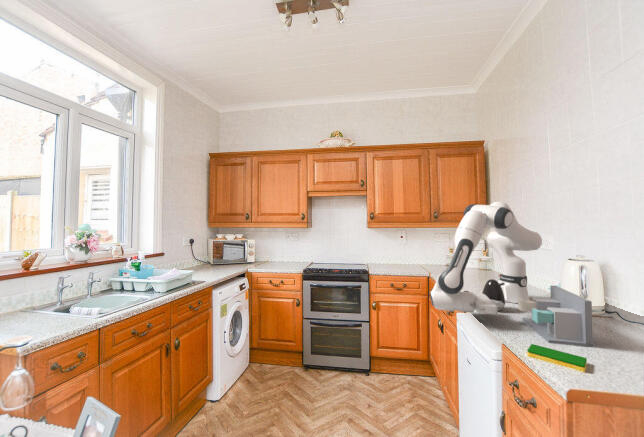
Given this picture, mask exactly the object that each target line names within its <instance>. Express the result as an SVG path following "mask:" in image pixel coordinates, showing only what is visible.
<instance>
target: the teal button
mask: <svg viewBox="0 0 644 437" xmlns="http://www.w3.org/2000/svg"><path fill="white" fill-rule="evenodd" d="M531 318H532V320H534V321H535V322H536V323H538V324H541V322H544V323H554V313H553V312H552V311H543V310H537V309H535V308H532V311H531Z"/></svg>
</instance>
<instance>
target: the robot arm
mask: <svg viewBox="0 0 644 437" xmlns="http://www.w3.org/2000/svg"><path fill="white" fill-rule="evenodd" d="M485 228H491V229H492V228H493V229H494V230H493V231H490V232H489V233H488V235H487V237H486V242H487V244H488V246H489V247H490V248H492V249H493V250H494V252H496V253H497V255H498V257H499V259H500V262H501V264H500V265H501V273H500V274H499V273H498V275H497V277H499V279H498V280H496V281H497V282H498V283H505V285H501V288H502V290H503V293H504V297H505V303H512V304H518V299H522V300H529V301H531V299H530V295H529V291H528V276H527V267H526V266H527V264H526V261H525V260H524V259H523V258H521V257H519V256H517V255H516V254H515V253H514V251H521V252H529V251H531V252H532V251H538V250H539V249H540V248H541V246H542V245H543V239H542V236H541V235H540V234H539V233H538V232H537V231H532V230H530V229H528V228H526V227H525V226H523V225H521V224H520V223H519V222H518V220H517V218H516V216H515V214H514V211H513V210H512V208H511V207H510V206H509V204H508V203H506V202H505V201H501V200H500V201H498V200H497V201H494V202H492V203H490V204H477V203H473V204H469V205H467V206H466V207H465V208H464V211H463V217H462V219H461V220H460V222H459V224H458V226H457V228H456V230H455V233H454V237H453V244H454V247H455V248H454V253H453V255H452V257H451V260H450V262H449V265H448V267H447V268H446V269H445V270H444V271H442V272H440V273H439V274H438V275H437V277H436V281H435V283H434V286H433V288H432V289H431V291H430V292H429V297H430V298H429V299H430V301H431V302H430V303H431V305H432V306H433V308H435V309H437V310H442V311H449V312H451V311H459V312H462V313H475V311H476V312H477V313H481V314H487V315H498V314H499V313H498V312H499V311H498V309H497V307H505V305H504V303H502V302H501V301H496V300H490V299H489V298H488V297H487V296H486V295H485V294H482V293H481V292H474V291H472V292H471V291H469V290H463V288H464V285H465V284H464V283H465V282H464V274H465V273H464V272H465V269H466V267H467V264H468V263H469V260H470V257H471V255H472V253H474V251H475V249H476V248H477V247H478V245H479V244H480V241H481V239H482V237H483V235H484V232H485ZM462 290H463V291H462Z"/></svg>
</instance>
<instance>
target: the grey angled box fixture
mask: <svg viewBox="0 0 644 437" xmlns="http://www.w3.org/2000/svg"><path fill="white" fill-rule="evenodd" d="M530 301H536V302H537V310H543V311H552V312H553V313H554V323H544V322H541V324H538V323H536V322H535V321H534V320H532V317H531V318H530V317H522V318H521V320H522V321H523V322H524V323H525V324H526V325H527V326H528V327H530V328H531V329H532V330H533V331H535V332H536V334H538V335H539V336H540V337H541V338H542V339H544V340H545V341H546V342H547V343H549V344H556V345H557V344H558V345H560V344H561V345H567V346H569V345H570V346H577V347H578V346H580V347H588V348H597V343H595V342H594V337H593V334H594V332H593V305H592V304H593V302H592V300H589V299H587V298H585V297H583V296H580V295H578V294H575V293H574V292H571V291H568V290H566V289H564V288H561V287H559V286H558V285H550V298H548V297H547V298H546V297H545V298H544V297H531V299H530Z"/></svg>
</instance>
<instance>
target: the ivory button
mask: <svg viewBox="0 0 644 437" xmlns="http://www.w3.org/2000/svg"><path fill="white" fill-rule="evenodd" d="M517 305H518V310H520V311H521V312H524V313H525V312H526V311H527V312H528V311H529V312H532V308H535V309H537V302H536V301H531V300H530V301H529V300H522V299H518V303H517Z"/></svg>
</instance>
